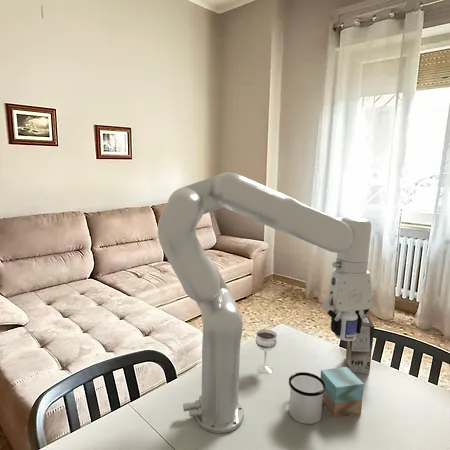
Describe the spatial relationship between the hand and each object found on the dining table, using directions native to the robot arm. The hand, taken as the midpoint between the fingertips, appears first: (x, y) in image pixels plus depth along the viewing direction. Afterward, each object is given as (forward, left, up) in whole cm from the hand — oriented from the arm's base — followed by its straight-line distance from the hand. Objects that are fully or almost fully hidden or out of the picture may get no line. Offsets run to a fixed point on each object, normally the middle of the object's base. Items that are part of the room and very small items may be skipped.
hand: (345, 331), depth 92 cm
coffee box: (+17, +17, -22) cm, 33 cm away
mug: (-11, 0, -22) cm, 25 cm away
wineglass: (-14, +21, -22) cm, 34 cm away
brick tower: (0, 0, -22) cm, 22 cm away
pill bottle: (0, 0, -2) cm, 2 cm away
